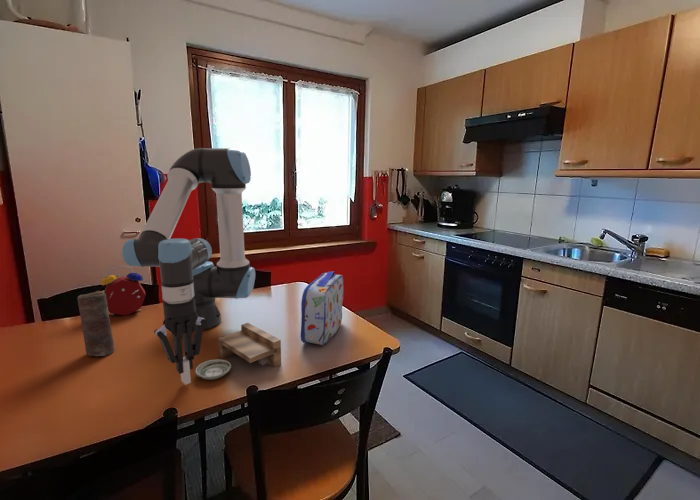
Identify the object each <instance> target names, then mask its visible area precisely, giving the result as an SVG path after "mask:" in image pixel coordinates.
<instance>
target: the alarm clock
mask: <svg viewBox="0 0 700 500" xmlns="http://www.w3.org/2000/svg"><path fill="white" fill-rule="evenodd" d="M121 267H123V268H129V269H130V270H131V272H130V273H128V274H126V276H121V273H118V274H116V275H115V274H112V270H115V269H118V268H121ZM143 280H144V278H143V276H142V275H141V274H140V273H138V271H136V272H135V271H134V269H133V266H129V265H128V266H127V265H118V266H116V267H113V268H109V274H105V277H104V278H103V279H101V281H100V285H101V286H105V288H104V291H103V292H104V293H105V294H106V299H107V306H108V312H109V314H110V315H112V316H113V315H121V316H125V317H126V315H127V316H129V315H131V314H132V313H134V312H136V311H139V312H142V310H141V309H142V307H143V305H144V304H143V303H144V301H145V298H146V290H145V289H144V287H143V285H141V283H140V282H141V281H143Z"/></svg>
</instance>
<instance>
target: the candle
mask: <svg viewBox="0 0 700 500" xmlns="http://www.w3.org/2000/svg"><path fill="white" fill-rule="evenodd" d="M77 305H78V310H79V316H80V322H81V327H82V334H83V341H84V347H85V353H86V355H88V356H91V357H92V356H94V357H106V356H109V355H111V354H112V353H113V352H114V351H115V343H114V337H113V331H112V325H111V320H110V312H109V311H108V306H107V299H106V294H105V293H104V291H102V290H97V291H94V292H89V293H84V294H80V295H78V296H77Z"/></svg>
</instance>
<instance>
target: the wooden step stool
mask: <svg viewBox="0 0 700 500" xmlns="http://www.w3.org/2000/svg"><path fill="white" fill-rule="evenodd" d="M240 326H241V327H240V329H241V330H239V331H238V330H237V331H235V332H233V333H230V334H227V335H224V336H221V337H218V350H219V351H218V352H219V356H220V357H221V358H222V359H224V358H226V357H230V356H232V355H234V354H236V355H237V356H238V357H240V358H242V359H243V360H245V361H246V362H248V363H249V364H252V363H254V362H256V361H257V363H258V364H260V365H261V366H264V365H266V364H269V365H270V366H272V367H274V368H276V367H278V366H280V365H282V340H281V339H280V338H278V337H276V336H274V335H272V334H270V332H269V333H268V332H267V331H264V330H263V329H261V328H259V327H257V326H255V325H253V324H251V323H249V322H246V323H242V324H241V325H240Z"/></svg>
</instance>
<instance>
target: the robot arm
mask: <svg viewBox="0 0 700 500" xmlns="http://www.w3.org/2000/svg"><path fill="white" fill-rule="evenodd" d="M251 179H252V173H251V166H250V161H249V157H248V156H247V154H246V153H245V152H244V151H243V150H242V149H238V148H231V147H227V148H221V147H220V148H216V147H215V148H214V147H212V148H211V147H210V148H209V147H208V148H205V147H198V148H194V149H191V150H189V151H187V152H185V153H184V154H182V155H181V156H179V157H178V158H177V159H176V160H175V162H173V164H172V165H171V166H170V168H169V170H168V172H167V182H166V184H165V185H164V187H163V190H162V191H161V194H160V196H159V197H158V200H157V201H156V203H155V205H154V208H153V210H152V211H151V213H150V215H149V217H148V219H147V221H146V222H145V225H144V226H143V229H142V230H141V233H140V235H139V237H137V238H132V239H131V238H130V239H128V240H127V241H124V243H123V245H122V247H121V257H122V259H123V261H124V262H125V263H126V265H128V266H130V267H133V266H134V267H140V268H145V267H157V268H158V267H159V272H160V283H161V293H162V294H161V297H162V301H163V302H162V305H163V307H162V308H163V316H164V317H163V321H162V326H160V327H159V328H157V329H154V330H153V333H154V334H155V335H156V336H157V337H158V338H159V341H160V343H161V345H162V348H163V350H164V351H163V352H164V353H165V356H166V358H167V360H168V361H169V362H171V363H172V364H175V365H176V368H175V369H176V372H177V373H178V374H180V381H181V382H182V384H184V385H185V386H187V385H189V384H191V383H192V381H191V370H193V367H194V363H193V361H194V359H195V356H198V355H199V354H200V350H201V344H202V339H203V332H204V331H205V330H208V329H211V328H214V327H217V326H219V324H221V322H222V314H221V312H220V310H219V307H218V305H217V302H216V299H236V300H237V299H247V298H249V297H250V296H251V294H252V293H253V289H254V287H255V280H256V269H255V267H252V266H250V260H248V259H247V258H246V252H245V234H244V233H245V232H244V215H243V192H244V191H245V190H246V189H247V187H246V185H247V184H249V183H250V182H251ZM201 183H207V184H208V183H209V184H210V188H211V189H212V191H213V192H214V193H215V194H216V195H215V196H216V197H215V198H216V210H217V212H216V213H217V225H218V226H217V227H218V241H219V256H220V259H219V260H218V261H217V262H216V266H215V265H214V263H213V262H212V261H209V260H210V258H211V257H212V255H213V249H212V246H211V244H210V243H209V241H207V240H206V239H204V238H199V237H196V238H191V239H187V238H181V237H180V238H179V237H178V238H177V237H176V238H171V237H172V236H173V233H174V232H175V229H176V227H177V224H178V223H179V220H180V219H181V218H180V217H181V215H182V213H183V211H184V209H185V206H186V204H187V201H188V199H189V197H190V195H191V193H192V191H193V190H196V188H197V187H198V186H199V184H201ZM167 330H168V331H169V332H170V333H171V334H172V339H173V340H172V341H173V348H172V347H171V343H170V341H169V339H168V337H167ZM192 335H193V338H192ZM182 340H183V341H182ZM183 351H184V352H183ZM183 353H184V354H183Z"/></svg>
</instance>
